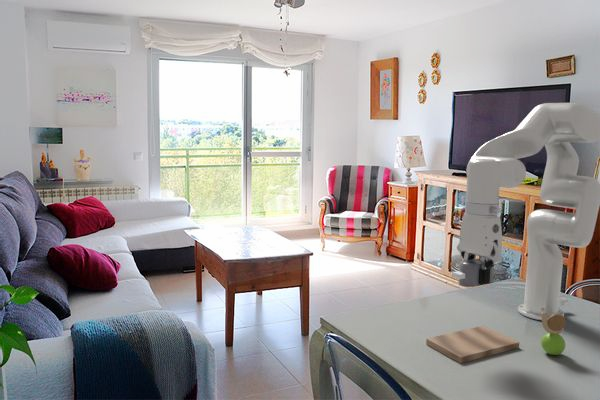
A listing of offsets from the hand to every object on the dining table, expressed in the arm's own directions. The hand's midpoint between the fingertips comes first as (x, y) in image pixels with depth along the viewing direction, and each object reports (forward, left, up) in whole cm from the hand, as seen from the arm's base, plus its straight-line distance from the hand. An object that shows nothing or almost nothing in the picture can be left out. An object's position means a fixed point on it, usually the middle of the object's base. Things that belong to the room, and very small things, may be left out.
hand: (476, 280), depth 131 cm
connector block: (0, 0, 0) cm, 1 cm away
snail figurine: (-14, +12, -17) cm, 25 cm away
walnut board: (0, 0, -17) cm, 17 cm away
